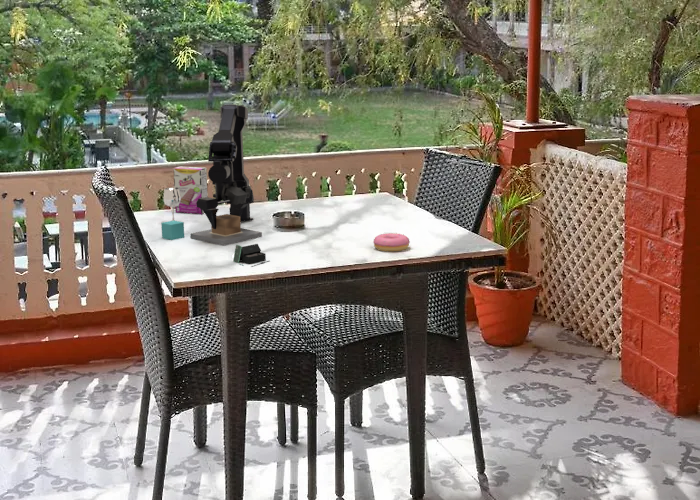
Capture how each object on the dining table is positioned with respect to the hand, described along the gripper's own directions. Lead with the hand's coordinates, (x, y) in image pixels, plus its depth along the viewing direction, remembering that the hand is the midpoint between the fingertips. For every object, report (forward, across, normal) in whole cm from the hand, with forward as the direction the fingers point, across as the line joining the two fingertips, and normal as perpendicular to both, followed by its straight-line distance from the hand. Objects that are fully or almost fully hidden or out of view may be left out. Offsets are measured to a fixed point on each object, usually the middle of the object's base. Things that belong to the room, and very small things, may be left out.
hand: (225, 226), depth 303 cm
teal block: (+4, -11, +13) cm, 17 cm away
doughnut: (+4, +22, -50) cm, 55 cm away
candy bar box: (+4, +19, +41) cm, 45 cm away
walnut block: (+2, 0, 0) cm, 2 cm away
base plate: (+4, 0, 0) cm, 4 cm away
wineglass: (+4, +3, +31) cm, 31 cm away
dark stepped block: (+4, -15, -29) cm, 33 cm away
